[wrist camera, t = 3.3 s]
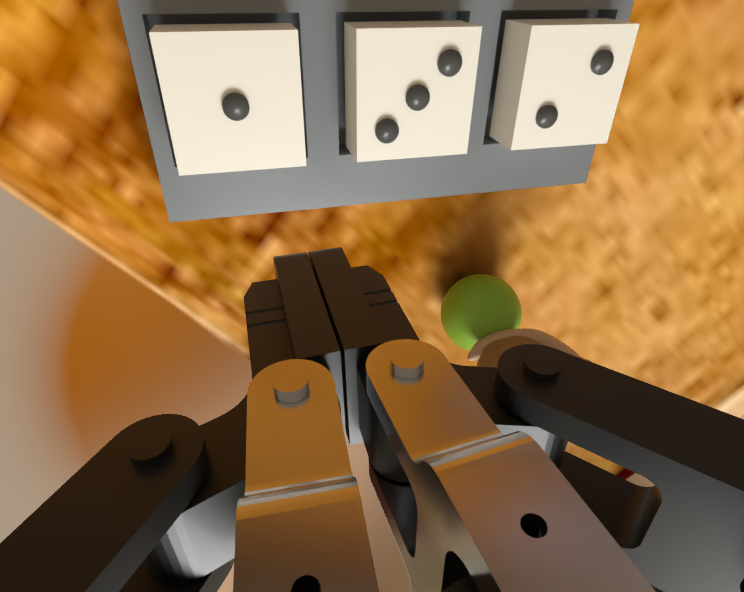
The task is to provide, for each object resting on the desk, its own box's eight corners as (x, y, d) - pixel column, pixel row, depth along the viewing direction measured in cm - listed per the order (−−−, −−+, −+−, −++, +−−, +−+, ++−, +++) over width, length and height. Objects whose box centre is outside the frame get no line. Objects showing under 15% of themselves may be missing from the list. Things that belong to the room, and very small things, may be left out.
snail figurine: (512, 304, 39) (610, 420, 29) (434, 331, 38) (508, 457, 29) (510, 246, 36) (619, 353, 26) (425, 273, 35) (504, 394, 25)
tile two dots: (506, 19, 24) (534, 26, 22) (606, 18, 25) (642, 24, 23) (489, 135, 27) (512, 151, 25) (579, 129, 29) (609, 144, 26)
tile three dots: (343, 21, 23) (357, 29, 20) (459, 20, 24) (484, 27, 22) (345, 145, 26) (357, 163, 24) (448, 138, 27) (468, 155, 25)
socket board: (113, -70, 21) (100, -72, 19) (609, -58, 26) (649, -59, 24) (173, 198, 28) (169, 222, 25) (558, 165, 33) (585, 182, 31)
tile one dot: (155, 24, 21) (148, 33, 19) (290, 22, 22) (298, 30, 20) (182, 157, 24) (178, 177, 22) (299, 149, 25) (307, 167, 23)
